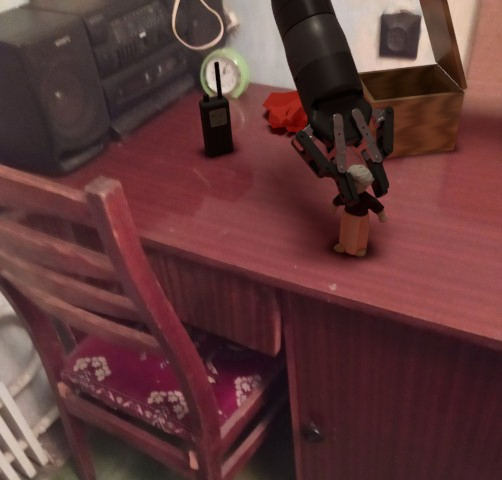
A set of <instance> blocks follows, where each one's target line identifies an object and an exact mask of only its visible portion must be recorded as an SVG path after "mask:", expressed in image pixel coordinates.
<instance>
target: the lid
mask: <svg viewBox="0 0 502 480" xmlns="http://www.w3.org/2000/svg"><path fill="white" fill-rule="evenodd" d="M418 1H419V5H420V8H421V13H422V17H423V20H424V24H425V28H426V32H427V37H428V39H429V43H430V47H431V51H432V55H433V59H434V62H435V64H438V65H439V66H440V67H441V68H442V70H443V71H444V72H445V73H446V74H447V75H448V76H449V77H450V78H451V79H452V80H453V81H454V82H455V83H456V84H457V85H458V86H459V87H460V88H461V89H462V90H463V91H465V90H467V89H468V84H467V80H466V74H465V70H464V66H463V61H462V58H461V53H460V48H459V44H458V40H457V37H456V31H455V28H454V27H455V26H454V23H453V17H452V14H451V9H450V5H449V1H448V0H418Z"/></svg>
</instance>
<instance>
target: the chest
mask: <svg viewBox="0 0 502 480" xmlns="http://www.w3.org/2000/svg"><path fill="white" fill-rule="evenodd" d="M358 74H359V77H360V80H361V82H362V85H363V92H364V97H365V99H366V100H367V101H368V102H369V103H370V105H371V106H372V108H374V109H381V110H384V109H385V108H386V107H392V108H393V110H394V146H393V152H392V153H391V154H390V155H389V156H387V157H386V158H385V159H389V158H399V157H406V156H415V155H423V154H431V153H433V154H434V153H440V152H451V151H454V150H455V146H456V142H457V141H456V140H457V136H458V131H459V125H460V119H461V113H462V109H463V103H464V98H465V90H462V89H461V88H460V87H459V86H458V85H457V84H456V83H455V82H454V81H453V80H452V79H451V78H450V77H449V76H448V74H447V73H446V72H445V71H444V70H443V69H442V68H441V67H440V66H439V65H438V64H437V63H432V64H424V65H423V64H422V65H413V66H404V67H396V68H395V67H394V68H387V69H378V70H377V69H376V70H369V71H358ZM369 129H370V131H371V133H372V134H373V136H374V138H375V144H376V128H374V127H373V122H372V120H371V119H370V123H369ZM361 142H363V140H362V141H361Z"/></svg>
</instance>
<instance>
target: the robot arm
mask: <svg viewBox="0 0 502 480" xmlns="http://www.w3.org/2000/svg"><path fill="white" fill-rule="evenodd" d="M270 7H271V11H272V15H273V18H274V22H275V25H276V29H277V31H278V34H279V36H280V40H281V43H282V45H283V49H284V54H285V59H286V63H287V66H288V69H289V72H290V74H291V78H292V80H293V84H294V86H295V89H296V91H297V92H298V95H299V98H300V101H301V104H302V107H303V110H304V112H305V113H306V115H307V124H306V126H307V127H306V128H305V129H303V130H299V131H298V132H297V133H296V132H295V135H294V136H293V138H292V139H291V141H290V145H291V146H292V148H293V149H294V150H295V151H296V153H297V154H298V155H299V156H300V157H301V158H302V160H303V161H304V162H305V164H306V165H307V167H309V169H310V170H311V171H312V172H313V173H314V175H315V176H316V177H317V178H318V179H323V178H330V179H332V180H333V181H334V183H335V185H336V189H337V191H338V194H339V195H340V198H341V200H342V202H343V203H344V204H345V203H347V206H348V207H351V206H354V205H356V204H357V203H359V196H358V193H357V191H356V188H355V185H354V182H353V179H352V176H351V173H350V172H349V173H347V170H348V164H347V158H346V152H347V147H351V148H352V150H353V152H354V153H355V155H357V156H359V158H360V159H361V161H362V163H363V165H364V166H365V167H366V168H367V169H368V170H369V171H370V172H371V174H372V177H373V178H374V180H373V182H372V184H371V185H370V186H371V189H372V192H373V196H374V197H375V198H376V199H380V198H383V197H384V196H386V195H388V193H389V190H388V189H390V181H389V179H388V176H387V173H386V169H385V167H384V163H383V162H384V160H385V159H387V158H386V157H387V156H389V155H390V154H391V153H392V152H393V146H394V110H393V108H392V107H386V108H385V109H384V110H381V109H374V108H372V106H371V105H370V103H369V102H368V101H367V100H366V99H365V97H364V92H363V85H362V82H361V80H360V77H359V74H358V73H359V71H358V68H357V66H356V62H355V60H354V57H353V54H352V50H351V47H350V45H349V43H348V39H347V36H346V34H345V31H344V30H343V28H342V26H341V24H340V22H339V19H338V17H337V15H336V11H335V8H334V5H333V2H332V0H270ZM370 119H371V120H372V122H373V127H374V128H376V144H375V138H374V136H373V134H372V133H371V131H370V129H369V123H370ZM315 139H317V140H318V141H319V142H320V143H321V144H322V145H324V151H325V152H324V153H325V155H324V153H323V152H322V150H321V149H320V148H319V147H318V146H317V145H316V143H315V141H316V140H315ZM362 140H363V142H361V141H362Z"/></svg>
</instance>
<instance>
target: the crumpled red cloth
mask: <svg viewBox="0 0 502 480" xmlns="http://www.w3.org/2000/svg"><path fill="white" fill-rule="evenodd" d="M262 107H263V108H264V109H266V110H267V111H268V112H269V113H268V120H267V123H268V124H270V126H271V128H272V129H278V128H285V130H286V131H287V132H289V133H293V132H294V133H295V134H296V133H297V132H298V131H299V130H303V129H305V128H306V127H307V126H306V124H307V115H306V113H305V112H304V110H303V107H302V104H301V101H300V98H299V95H298V92H297V90H294V91H293V90H292V91H288V92H273V91H271V92H270V94H268V96H267V98H266V99H265V100H264V102H263V103H262Z"/></svg>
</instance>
